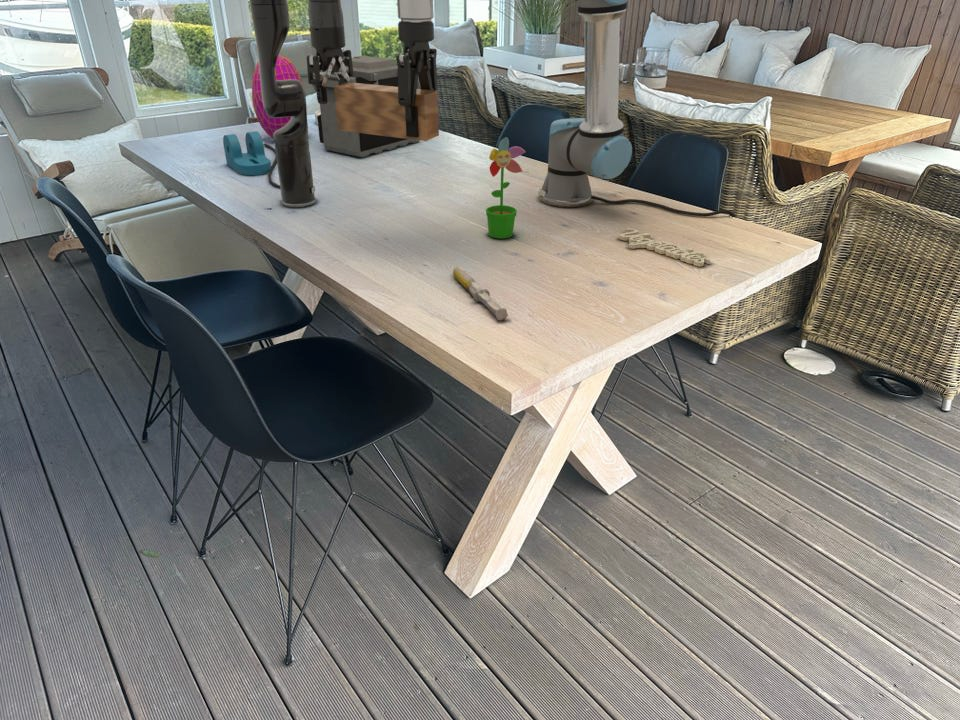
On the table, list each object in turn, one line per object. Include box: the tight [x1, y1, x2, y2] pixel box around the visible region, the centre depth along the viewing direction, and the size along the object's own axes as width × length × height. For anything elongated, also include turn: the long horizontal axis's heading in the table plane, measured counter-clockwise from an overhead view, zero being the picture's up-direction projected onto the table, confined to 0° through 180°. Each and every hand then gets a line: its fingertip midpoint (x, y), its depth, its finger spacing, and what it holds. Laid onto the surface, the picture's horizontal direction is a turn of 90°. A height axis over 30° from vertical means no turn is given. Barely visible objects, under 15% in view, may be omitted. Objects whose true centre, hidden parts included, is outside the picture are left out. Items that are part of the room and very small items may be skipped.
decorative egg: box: [251, 54, 305, 140], centre depth 257 cm, size 19×19×30 cm
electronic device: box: [311, 55, 420, 159], centre depth 250 cm, size 37×22×30 cm, turn 144°
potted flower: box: [485, 136, 527, 239], centre depth 171 cm, size 9×8×25 cm
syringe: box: [452, 266, 509, 321], centre depth 145 cm, size 25×4×3 cm, turn 21°
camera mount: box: [222, 131, 272, 176], centre depth 226 cm, size 18×10×10 cm, turn 35°
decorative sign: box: [618, 227, 711, 267], centre depth 169 cm, size 26×1×10 cm
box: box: [334, 82, 440, 142], centre depth 157 cm, size 24×6×10 cm, turn 65°
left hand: (333, 100), depth 161 cm, fingers open, 8 cm apart
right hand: (420, 133), depth 156 cm, fingers closed on box, 6 cm apart
